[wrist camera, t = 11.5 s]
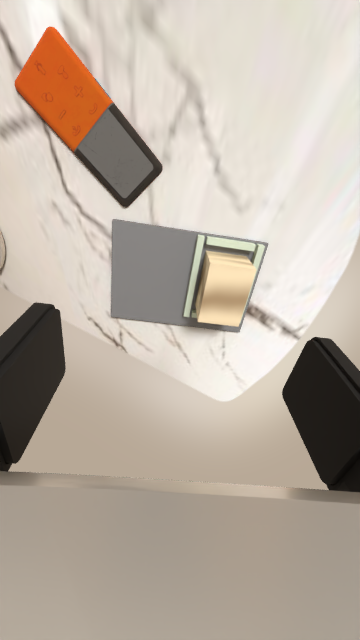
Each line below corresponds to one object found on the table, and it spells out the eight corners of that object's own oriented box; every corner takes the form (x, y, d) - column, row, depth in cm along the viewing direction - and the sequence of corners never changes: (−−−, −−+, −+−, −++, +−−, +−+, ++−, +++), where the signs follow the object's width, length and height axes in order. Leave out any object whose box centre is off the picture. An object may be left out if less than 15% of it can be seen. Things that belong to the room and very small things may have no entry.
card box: (205, 250, 34) (210, 263, 29) (246, 256, 34) (256, 269, 30) (195, 303, 38) (197, 321, 33) (231, 308, 38) (238, 326, 34)
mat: (111, 315, 39) (109, 320, 38) (113, 218, 32) (110, 221, 31) (238, 330, 41) (240, 335, 40) (267, 242, 34) (270, 245, 32)
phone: (48, 19, 23) (164, 168, 29) (54, 26, 24) (165, 167, 30) (9, 84, 25) (124, 209, 31) (16, 87, 26) (126, 208, 32)
